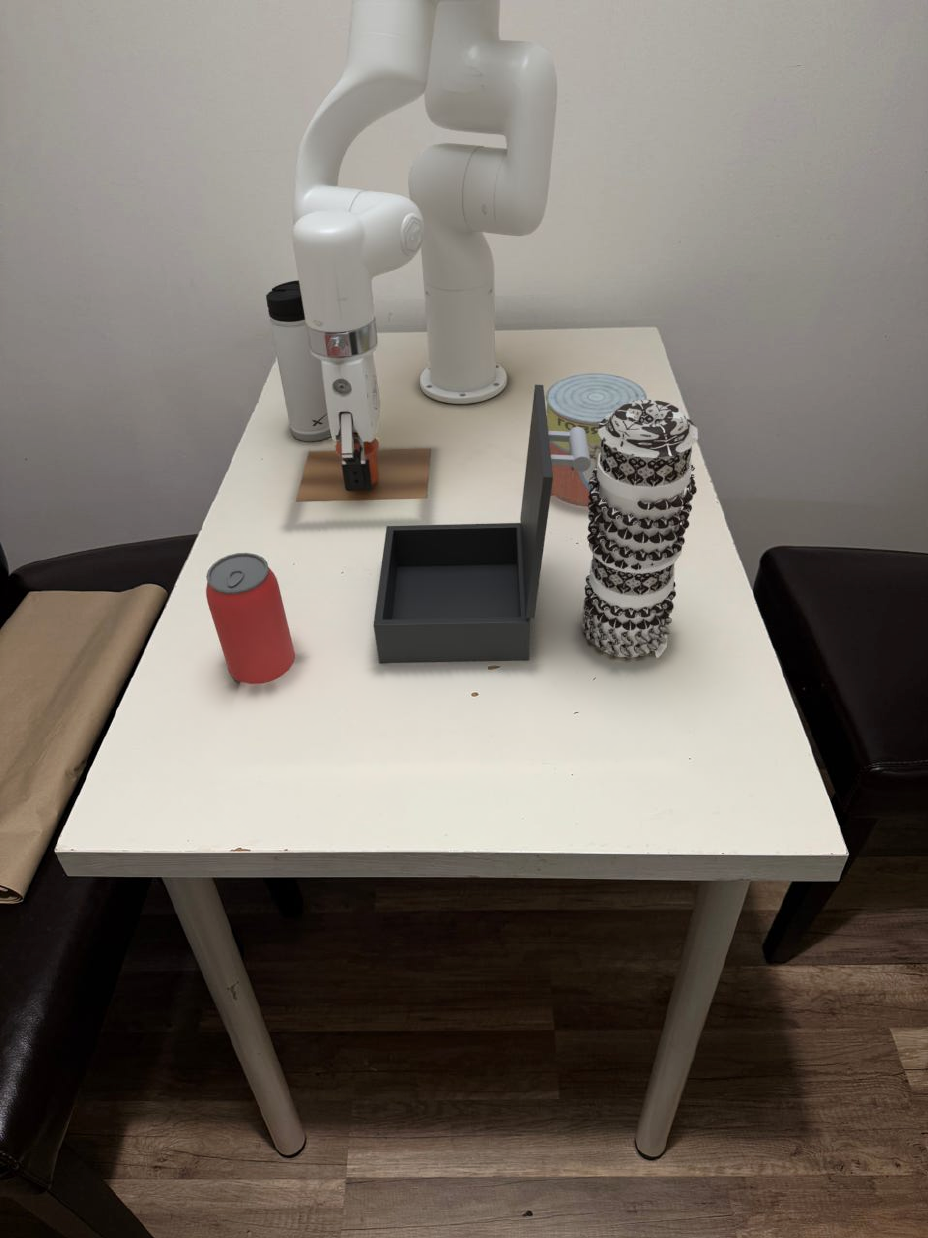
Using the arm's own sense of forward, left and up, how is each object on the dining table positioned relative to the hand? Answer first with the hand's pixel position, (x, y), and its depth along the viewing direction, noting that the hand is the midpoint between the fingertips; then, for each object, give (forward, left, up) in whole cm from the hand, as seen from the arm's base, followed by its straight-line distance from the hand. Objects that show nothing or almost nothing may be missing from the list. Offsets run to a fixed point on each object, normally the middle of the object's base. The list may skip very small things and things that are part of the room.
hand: (361, 474), depth 109 cm
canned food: (+1, +28, -2) cm, 28 cm away
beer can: (+31, -7, -2) cm, 32 cm away
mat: (0, 0, -2) cm, 2 cm away
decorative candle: (+28, +29, -2) cm, 40 cm away
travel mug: (-14, -8, -2) cm, 16 cm away
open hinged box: (+24, +12, -2) cm, 27 cm away
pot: (0, 0, 0) cm, 0 cm away
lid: (+24, +20, +12) cm, 33 cm away
